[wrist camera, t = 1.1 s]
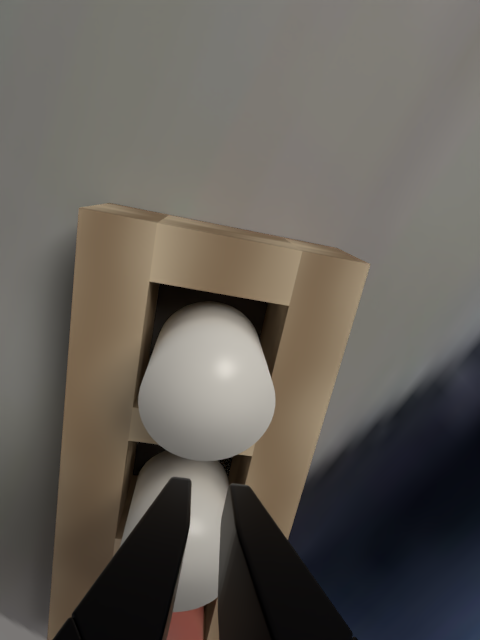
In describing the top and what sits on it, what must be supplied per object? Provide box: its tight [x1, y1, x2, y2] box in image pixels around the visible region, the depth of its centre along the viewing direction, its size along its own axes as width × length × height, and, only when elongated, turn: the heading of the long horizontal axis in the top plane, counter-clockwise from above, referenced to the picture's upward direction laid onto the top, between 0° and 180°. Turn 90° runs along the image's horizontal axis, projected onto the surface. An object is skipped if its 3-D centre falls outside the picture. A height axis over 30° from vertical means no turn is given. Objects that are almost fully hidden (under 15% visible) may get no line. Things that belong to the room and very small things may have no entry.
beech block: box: [47, 203, 370, 640], centre depth 19 cm, size 10×22×4 cm, turn 169°
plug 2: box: [120, 450, 229, 612], centre depth 15 cm, size 4×4×4 cm
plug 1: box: [138, 301, 275, 461], centre depth 14 cm, size 4×4×4 cm
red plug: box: [167, 606, 204, 640], centre depth 17 cm, size 4×4×4 cm
